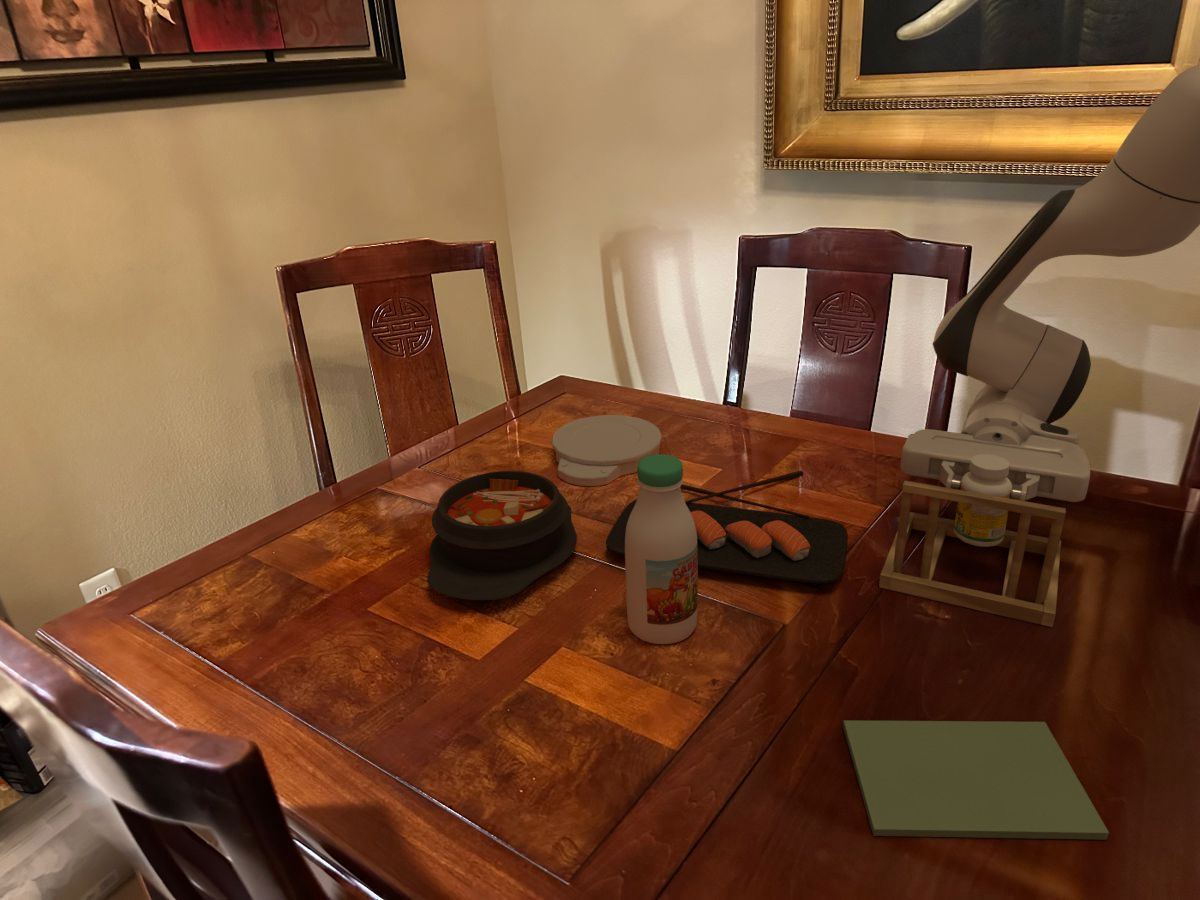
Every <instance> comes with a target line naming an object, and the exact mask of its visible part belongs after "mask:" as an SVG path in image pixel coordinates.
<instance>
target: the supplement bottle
mask: <svg viewBox="0 0 1200 900" xmlns="http://www.w3.org/2000/svg"><path fill="white" fill-rule="evenodd" d="M1009 466H1010V464H1009V462H1008V461H1007V460H1006V459H1004V458H1002V457H999V456H995V455H990V454H980V455H975V456H973V457H972V458H971V460H970V466H969V470H970V472H968V473H966V474H965V475H964V476H963V477H962V479H961V484H960V490H962V491H968V492H974V493H980V494H985V495H991V496H997V497H1002V498H1008V499H1010V498H1011V492H1012V483H1011V481H1010V480H1009V479H1008V478H1007V476H1008V474H1009ZM1008 515H1009V511H1006V510H1001V509H995V508H990V507H984V506H979V505H973V504H968V503H962V502H957V505H956V512H955V519H954V520H955V524H954V532H955V535H956V536H957V537H958V538H957V539H959V540H960V541H962V542H963V543H965V544H968V545H971V546H974V547H981V548H987V547H990V548H991V547H994V546H995V547H996V545H997V544H999V543H1000V542H1001V541H1002V540H1003V538H1004V534H1005V530H1006V528H1007V522H1008Z"/></svg>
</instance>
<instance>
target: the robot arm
mask: <svg viewBox="0 0 1200 900" xmlns="http://www.w3.org/2000/svg"><path fill="white" fill-rule="evenodd" d="M1199 226H1200V64H1196V65H1194V66H1191V67H1189V68H1187V69H1185V70H1183V71H1182V72H1181V73H1178V74H1177V76H1175V77H1174V78H1173V79H1172V80H1171V81H1170V83H1168V84H1167V86H1166V87H1165V88H1164V89H1163V90H1162V91H1161V92H1160V93H1159V94H1158V96H1157V97H1156V98H1155V99H1154V100H1153V102H1152V103H1151V104H1150V105H1149V106H1148V107H1147V108H1146V110H1145V111H1144V113H1143V114H1142V115H1141V116H1140V118H1139V119H1138V121H1136V123H1135V124H1134V125H1133V127H1132V128H1131V130H1130V132H1129V133H1128V134H1127V136H1126V137H1125V138H1124V140H1123V142H1122V143H1121V144H1120V146H1119V148H1118V149H1117V150H1116V152H1115V154H1114V155H1113V157H1112V158H1111V160H1110V162H1109V163H1108V164H1107V165H1106V167H1105V168H1104V169H1103V170H1102V171H1101V172H1099V173H1098V175H1096V176H1094V178H1092V179H1091V180H1089V181H1088V182H1086V183H1084V184H1083V185H1082V186H1080V187H1078V188H1074V189H1065V190H1060V191H1059V192H1058V193H1056V194H1055V195H1053V196H1052V197H1051V198H1050V199H1049V200H1048V201H1046V202H1045V203H1044V204H1043V205H1042V206H1041V207H1040V208H1039V210H1038V211H1036V213H1035V214H1034V215H1033V216H1032V217H1031V219H1029V221H1028V222H1027V223H1026V224H1025V226H1023V227H1022V228H1021V230H1020V231H1019V232H1018V233H1017V235H1016V236H1015V237H1014V238H1013V239H1012V240H1011V241H1010V243H1009V244H1008V245H1007V246H1006V248H1004V250H1003V251H1002V252H1001V253H1000V255H999V256H998V257H997V258H996V260H995V261H994V262H993V263H992V264H991V265H990V267H989V268H988V269H987V271H986V272H985V273H983V275H981V277H980V279H979V280H978V281H977V282H976V283H975V285H974V286H973V287H972V288H971V289H970V290H969V291H968V292H967V293H966V294H965V296H964V297H963V298H961V300H958V302H957V303H956V304H955V305H953V306H952V307H951V308H950V309H949V311H947V313H945V315H944V316H943V318H942V319H941V321H940V322H939V324H938V327H937V328H936V331H935V333H934V337H933V341H932V347H933V350H934V353H935V355H936V357H937V360H938V362H939V363H940V365H941V366H942V368H943V369H944V370H947V371H950V372H953V373H957V374H959V375H962V376H965V377H970V378H973V379H975V380H977V381H979V382H982V383H984V384H985V385H983V387H982V388H981V389H980V390H979V391H978V392H977V394H976V395H975V397H974V398H973V400H972V401H971V404H970V406H969V408H968V411H967V415H966V418H965V420H964V423H963V426H962V429H961V432H953V431H946V430H939V429H929V428H925V429H919V430H917V431H915V432H914V433H910V434H909V435H907V438H906V440H905V443H904V444H903V446H902V449H901V454H900V455H901V456H900V465H899V468H900V471H901V472H903V473H904V474H905V475H908V476H910V477H911V476H912V477H918V478H924V479H931V480H937V481H939V482H940V483H941V484H943V485H944V487H945V488H951V489H957V490H960V484H961V479H962V477H963V476H964V475H965V474H966V473H968V472H970V470H969V466H970V460H971V458H972V457H973V456H975V455H980V454H990V455H995V456H999V457H1002V458H1004V459H1006V460H1007V461H1008V462H1009V464H1010V466H1009V474H1008V476H1007V478H1008V479H1009V480H1010V481H1011V483H1012V492H1011V498H1010V499H1014V500H1020V501H1025V502H1026V501H1028V500H1031V499H1033V498H1035V497H1040V498H1044V499H1045V498H1046V499H1052V500H1059V501H1065V502H1070V503H1079V502H1082V501H1084V500H1085V499H1086V497H1087V494H1088V490H1089V484H1090V479H1091V466H1090V465H1091V464H1090V461H1089V458H1088V454H1087V452H1086V451H1085V450H1084V449H1083V447H1081V446H1080V445H1079V444H1080V434H1079V432H1077V431H1075V430H1073V429H1071V428H1066V427H1062V426H1058V425H1055V424H1053V423H1055V422H1057V421H1058V420H1061V419H1062V418H1064V417H1065V416H1066V415H1067V414H1068V412H1069V411H1070V410H1071V409H1072V408H1073V406H1074V405H1075V404H1076V402H1077V401H1078V400H1079V397H1080V396H1081V394H1082V392H1083V391H1084V388H1085V386H1086V384H1087V381H1088V380H1089V379H1088V378H1089V376H1090V372H1091V367H1092V363H1091V361H1092V360H1091V356H1090V351H1089V347H1088V345H1087V343H1086V341H1085V340H1084V339H1082V338H1079V336H1075V335H1074V334H1071V333H1069V332H1066V331H1064V330H1061V329H1059V328H1057V327H1054V326H1053V325H1050V324H1045V323H1044V322H1041V321H1038V320H1036V319H1034V318H1031V317H1029V316H1027V315H1024V314H1022V313H1020V312H1017V311H1016V310H1013V309H1010V307H1007V306H1006V304H1005V303H1006V302H1007V301H1008V299H1009V298H1010V297H1011V296H1012V295H1013V294H1014V293H1015V292H1016V290H1017V289H1018V288H1019V287H1020V286H1021V285H1022V284H1023V282H1025V280H1027V278H1028V277H1029V276H1030V274H1032V273H1033V271H1034V270H1036V268H1038V266H1039V265H1041V264H1042V263H1044V262H1047V261H1049V260H1052V259H1055V258H1060V257H1066V256H1067V257H1068V256H1102V257H1103V256H1105V257H1115V258H1129V257H1142V256H1148V255H1152V254H1156V253H1159V252H1163V251H1165V250H1168V249H1170V248H1173V247H1174V246H1177V245H1179V244H1181V243H1183V242H1184V241H1185V240H1186V239H1187V238H1188V237H1190V236H1191V235H1192V234H1193V233H1194V232H1195V231H1196V229H1198V227H1199Z"/></svg>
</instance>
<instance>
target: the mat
mask: <svg viewBox="0 0 1200 900" xmlns="http://www.w3.org/2000/svg"><path fill="white" fill-rule="evenodd" d="M842 728H843V732H844V736H845V740H846V742H847V746H848V750H849V754H850V757H851V761H852V765H853V768H854V772H855V775H856V779H857V783H858V785H859V789H860V793H861V796H862V800H863V804H864V808H865V811H866V814H867V818H868V823H869V826H870V830H871V833H872V836H873V837H914V838H915V837H916V838H917V837H921V838H974V839H975V838H976V839H977V838H980V839H983V838H984V839H1036V840H1037V839H1042V840H1043V839H1044V840H1046V839H1047V840H1093V841H1094V840H1099V841H1101V840H1102V841H1103V840H1104V841H1107V840H1108V839H1109V835H1110V832H1109V829H1108V828H1107V826H1106V825H1105V823H1104V821H1103V820H1102V818H1101V816H1100V815H1099V813H1098V811H1097V809H1096V808H1095V806H1094V804H1093V802H1092V800H1091V798H1090V797H1089V796H1088V793H1087V792H1086V790H1085V788H1084V787H1083V785H1082V783H1081V781H1080V779H1078V776H1077V775H1076V773H1075V771H1074V769H1073V768H1072V766H1071V764H1070V762H1069V761H1068V759H1067V757H1066V756H1065V754H1064V752H1063V751H1062V749H1061V747H1060V745H1059V743H1058V742H1057V740H1056V738H1055V736H1054V735H1053V733H1052V731H1051V729H1050V728H1049V726H1048V724H1047V722H1045V721H998V720H997V721H995V720H994V721H993V720H992V721H991V720H990V721H989V720H988V721H987V720H986V721H985V720H981V721H980V720H979V721H977V720H976V721H975V720H968V721H967V720H860V719H859V720H857V719H856V720H848V719H846V720H843V722H842Z"/></svg>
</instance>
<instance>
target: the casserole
mask: <svg viewBox="0 0 1200 900" xmlns="http://www.w3.org/2000/svg"><path fill="white" fill-rule="evenodd" d="M431 526H432V528H433V531H434V532H435V534H436V535H435V536H434V537H433V539H432V541H431V542H430V547H429V560H430V567H429V569H428V573H427V578H426V582H427V584H428V586H429V588H430V589H432V590H433V591H435V592H437V593H439V594H442V595H445V596H447V597H449V598H450V597H451V598H455V599H460V600H467V601H494V600H499V599H505V598H510V597H512V596H515V595H517V594H519V593H520V592H522V591H523V590H524V589H525V588H527V587H529V585H531V584H532V583H533V582H534V581H535V580H537V579H538V578H540V577H542V576H544V575H545V574H547V573H548V572H550V571H552V570H554V569H556V568H558V567H559V566H560V565H561V564H562V563H564V562H565V561H567V560H568V558H569V557H570V556H571V554H572V553H573V552H574V550H575V548H576V545H577V543H578V534H577V532H576V529H575V526H574V523H573V521H572V508H571V506H570V505H569V503H568V501H567V499H566V498H565V496H564V495H563V494H562V493H560V490H559V488H558V486H557V485H556V484H555V483H554V482H553V481H551V479H549V478H547V477H544V476H542V475H540V474H538V473H533V472H528V471H522V470H521V471H520V470H497V471H490V472H485V473H480V474H476V475H473V476H470V477H467V478H465V479H463V480H460V481H458V482H456V483H454V484H453V485H451V486H450V487H449V488H447V489H446V490H445V491H444V492H443V493H442V495H441V496H440V497H439V500H438V502H437V507H436V508H435V509H434V511H433V514H432V516H431Z"/></svg>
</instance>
